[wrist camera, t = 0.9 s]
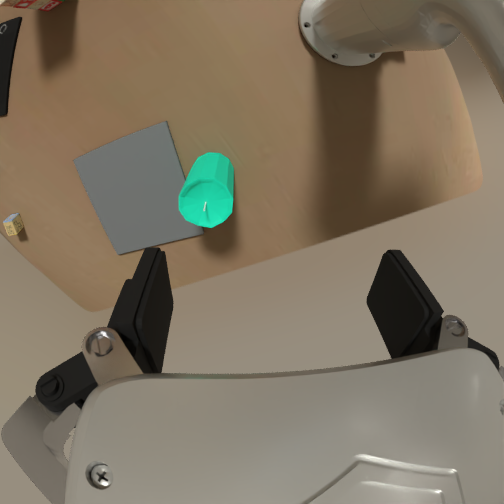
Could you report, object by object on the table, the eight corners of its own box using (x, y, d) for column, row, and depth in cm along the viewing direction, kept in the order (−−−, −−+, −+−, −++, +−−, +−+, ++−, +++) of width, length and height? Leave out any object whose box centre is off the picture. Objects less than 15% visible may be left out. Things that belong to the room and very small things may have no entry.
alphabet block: (19, 212, 38) (11, 220, 35) (24, 226, 40) (16, 235, 37) (10, 214, 38) (2, 222, 35) (15, 228, 40) (7, 236, 37)
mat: (166, 120, 33) (165, 121, 32) (204, 232, 43) (203, 233, 43) (74, 159, 34) (73, 160, 34) (118, 253, 44) (117, 254, 44)
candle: (182, 170, 37) (163, 208, 27) (214, 143, 35) (205, 171, 25) (211, 199, 40) (202, 245, 30) (243, 174, 38) (245, 213, 28)
